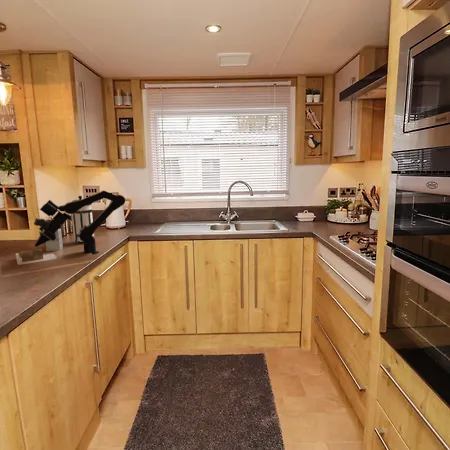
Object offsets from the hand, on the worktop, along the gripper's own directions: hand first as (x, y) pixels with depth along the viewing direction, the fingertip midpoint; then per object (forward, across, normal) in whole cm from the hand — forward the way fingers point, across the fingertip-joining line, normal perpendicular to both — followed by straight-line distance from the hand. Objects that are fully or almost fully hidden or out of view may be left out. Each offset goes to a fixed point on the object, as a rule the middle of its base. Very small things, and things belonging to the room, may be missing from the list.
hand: (35, 246), depth 163 cm
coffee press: (-15, -30, +27) cm, 43 cm away
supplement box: (-2, -17, +13) cm, 22 cm away
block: (+1, 0, +5) cm, 5 cm away
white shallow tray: (+6, 0, +6) cm, 8 cm away
